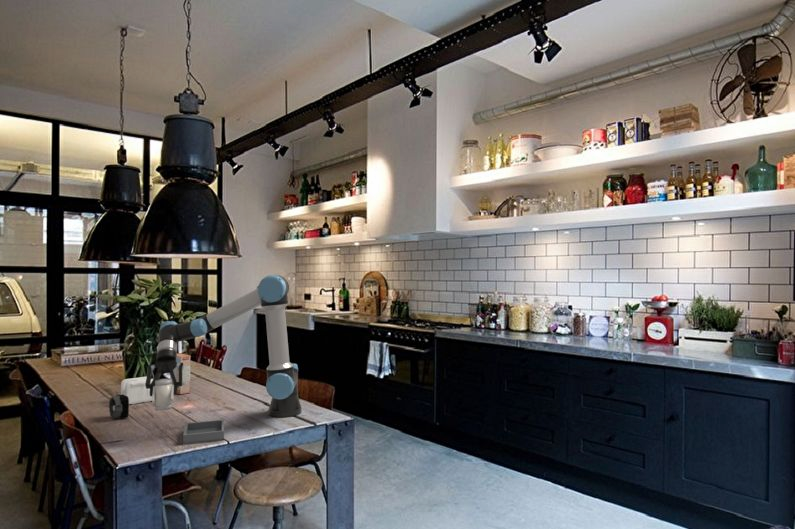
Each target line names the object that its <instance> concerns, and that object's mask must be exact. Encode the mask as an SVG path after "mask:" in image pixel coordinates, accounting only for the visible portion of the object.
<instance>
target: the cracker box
mask: <svg viewBox="0 0 795 529" xmlns="http://www.w3.org/2000/svg"><path fill="white" fill-rule="evenodd" d="M176 354H177V356H176V362H177V363H179V364H180V363H183V365H184V368H183V370H182V386H178V387H177V394H178V395H180V394H181V395H186V394H190V393H191V357H192V356H191V355H190V354H185V353H181V352H180V353H179V352H178V353H176ZM173 372H174V375H175V378H176V381H177V382H179V369H178V367H176V368H175V369H174V370H173ZM169 376H170V375H169ZM169 379H171V376H170V378H169ZM172 385H173V382H172ZM177 394H176V395H177Z"/></svg>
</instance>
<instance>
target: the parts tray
mask: <svg viewBox="0 0 795 529" xmlns="http://www.w3.org/2000/svg"><path fill="white" fill-rule="evenodd" d="M224 422H225V421H224V419H219V420H218V419H216V420H205V421H196V422H186V423H185V427H184V430H183V435H182V438H183V439H182V445H190V444H191V445H192V444H201V443H209V442H211V443H212V442H220V441H224V440H225V436H224V435H225V433H224V432H225V428H224V427H225V426H224V425H225V423H224Z"/></svg>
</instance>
